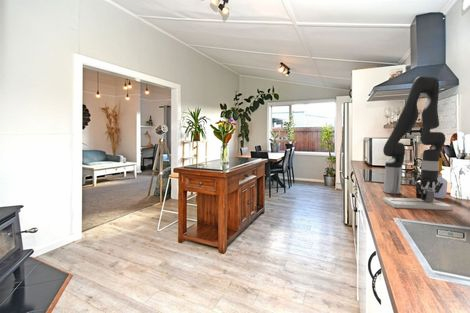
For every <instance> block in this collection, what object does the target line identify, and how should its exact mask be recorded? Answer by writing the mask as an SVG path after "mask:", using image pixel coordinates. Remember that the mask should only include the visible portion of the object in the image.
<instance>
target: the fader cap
mask: <svg viewBox="0 0 470 313" xmlns="http://www.w3.org/2000/svg"><path fill="white" fill-rule="evenodd" d="M425 194H426V199H425V200H423V201H425V202H433V197H434V191H431V190H428V189H427V191H426V193H425ZM421 200H422V199H421Z"/></svg>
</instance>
